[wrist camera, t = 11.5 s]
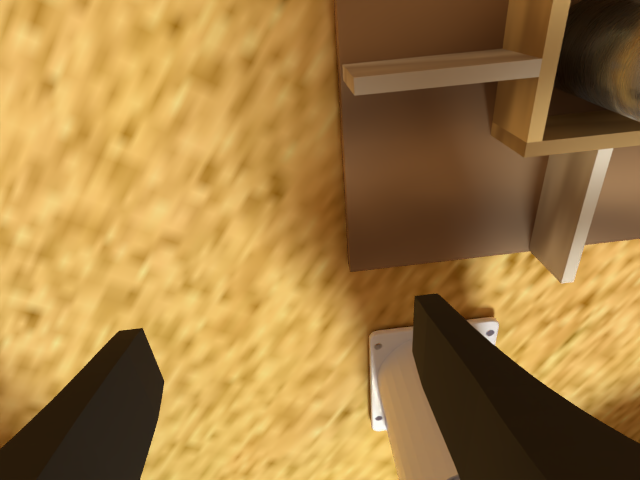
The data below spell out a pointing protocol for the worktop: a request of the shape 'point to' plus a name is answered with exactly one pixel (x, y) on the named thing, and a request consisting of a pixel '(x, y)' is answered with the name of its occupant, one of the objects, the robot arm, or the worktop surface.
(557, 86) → the hinge pin
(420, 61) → the hinge block
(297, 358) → the worktop surface
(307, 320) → the worktop surface
